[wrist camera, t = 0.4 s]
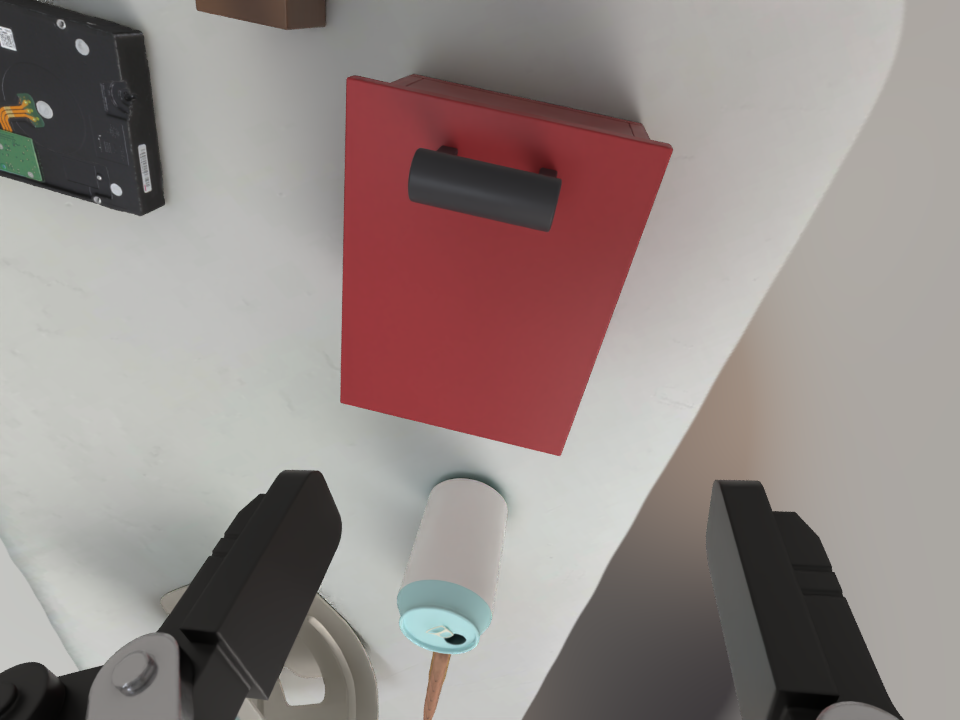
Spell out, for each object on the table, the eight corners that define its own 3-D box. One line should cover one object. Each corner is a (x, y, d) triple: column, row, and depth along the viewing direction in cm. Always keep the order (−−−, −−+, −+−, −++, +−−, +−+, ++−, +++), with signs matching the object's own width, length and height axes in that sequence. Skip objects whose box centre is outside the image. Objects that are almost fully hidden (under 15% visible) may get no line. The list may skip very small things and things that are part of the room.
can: (515, 483, 44) (496, 619, 35) (500, 534, 48) (479, 669, 39) (435, 464, 45) (392, 593, 35) (426, 516, 49) (387, 645, 39)
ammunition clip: (461, 607, 56) (434, 734, 46) (444, 602, 56) (414, 728, 46) (475, 547, 50) (448, 679, 40) (456, 542, 50) (425, 673, 40)
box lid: (353, 74, 20) (295, 91, 16) (671, 143, 20) (693, 179, 16) (345, 394, 30) (307, 455, 26) (561, 446, 29) (557, 517, 25)
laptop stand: (260, 686, 76) (196, 821, 64) (140, 592, 66) (35, 730, 54) (403, 672, 67) (360, 828, 54) (287, 558, 56) (201, 718, 44)
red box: (412, 73, 28) (353, 96, 21) (643, 123, 28) (663, 164, 21) (391, 318, 37) (345, 393, 30) (565, 359, 37) (561, 446, 29)
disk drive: (149, 26, 29) (-108, -43, 29) (113, 28, 27) (-166, -47, 27) (172, 205, 35) (-41, 147, 35) (144, 219, 33) (-84, 157, 33)
